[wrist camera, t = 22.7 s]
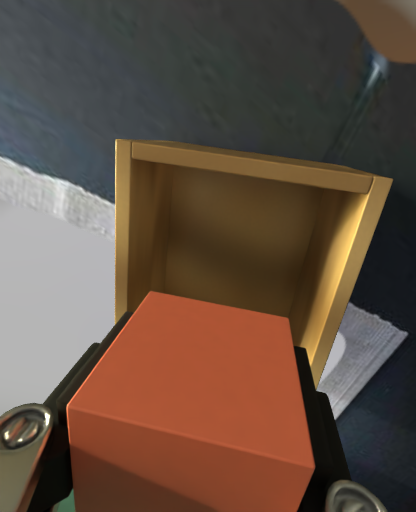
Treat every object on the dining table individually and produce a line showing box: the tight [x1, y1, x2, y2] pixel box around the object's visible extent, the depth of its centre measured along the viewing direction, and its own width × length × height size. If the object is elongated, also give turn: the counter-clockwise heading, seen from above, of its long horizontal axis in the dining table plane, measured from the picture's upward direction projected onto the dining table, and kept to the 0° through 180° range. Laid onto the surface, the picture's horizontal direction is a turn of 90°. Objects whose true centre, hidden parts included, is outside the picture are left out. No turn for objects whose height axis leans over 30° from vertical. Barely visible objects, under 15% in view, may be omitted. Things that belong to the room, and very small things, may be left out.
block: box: [67, 291, 315, 512], centre depth 8 cm, size 5×5×5 cm
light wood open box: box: [115, 139, 393, 389], centre depth 20 cm, size 16×13×9 cm
